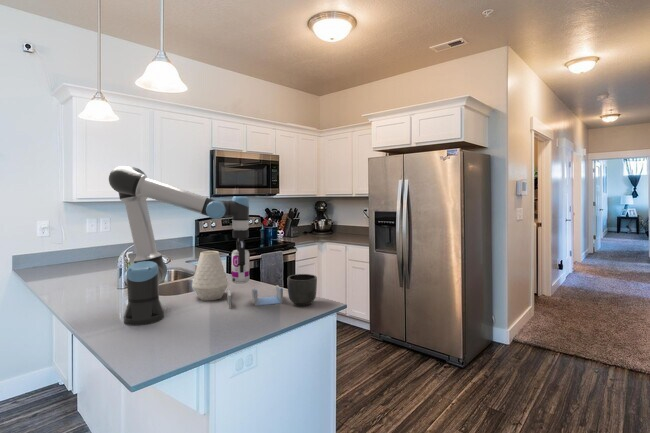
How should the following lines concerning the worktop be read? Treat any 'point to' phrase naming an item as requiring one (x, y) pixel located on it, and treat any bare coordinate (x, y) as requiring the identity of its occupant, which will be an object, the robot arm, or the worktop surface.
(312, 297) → the planter
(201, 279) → the vase
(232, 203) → the robot arm
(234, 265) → the supplement can
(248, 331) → the worktop surface
